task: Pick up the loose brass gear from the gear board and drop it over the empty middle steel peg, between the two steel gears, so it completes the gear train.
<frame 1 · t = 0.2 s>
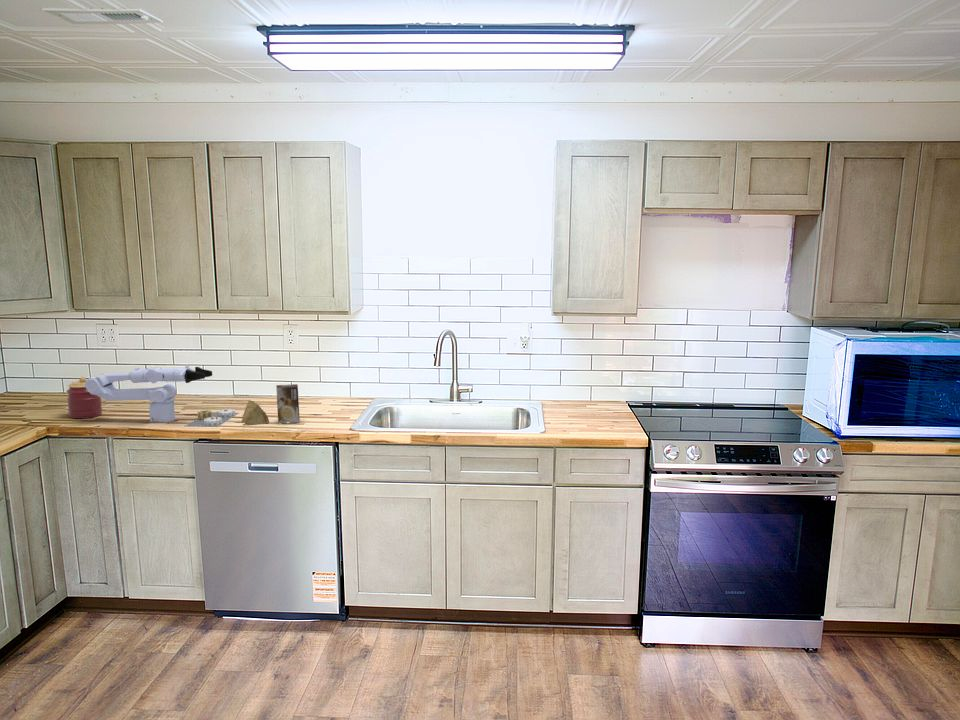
hand: (208, 374, 281), 21 cm above the worktop, tool horizontal, fingers open, 7 cm apart
coffee box: (288, 422, 288), on the worktop
canister: (85, 416, 293), on the worktop
gear board: (212, 421, 287), on the worktop
rock: (255, 424, 284), on the worktop
brass gear: (204, 418, 287), point 1 cm above the worktop, touching gear board
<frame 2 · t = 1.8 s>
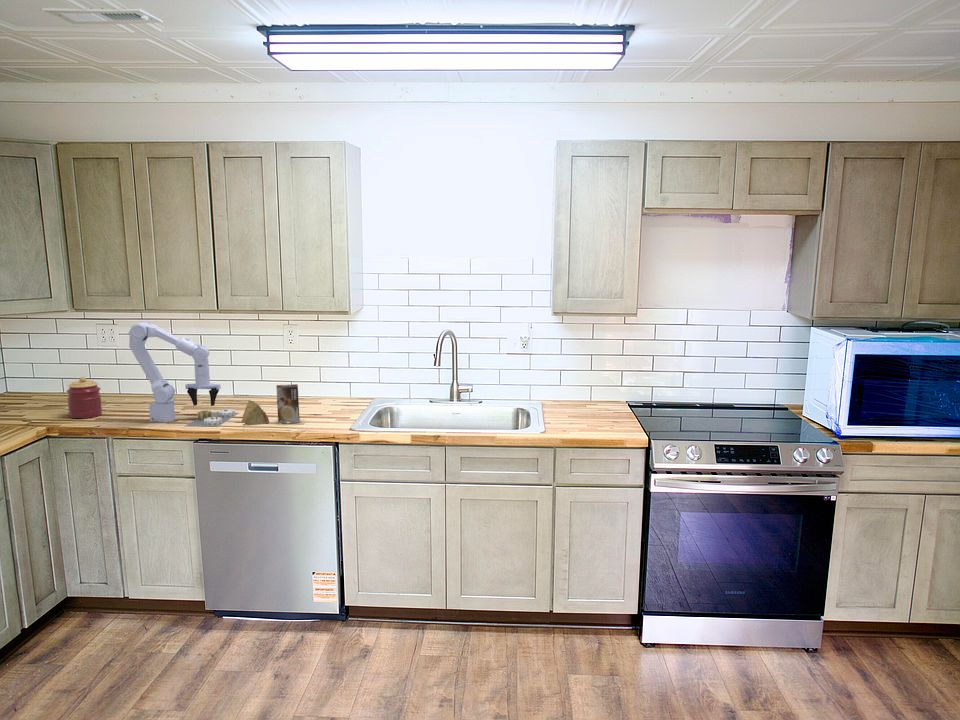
hand: (204, 405, 286), 7 cm above the worktop, tool pointing down, fingers open, 7 cm apart
nothing on the worktop moved.
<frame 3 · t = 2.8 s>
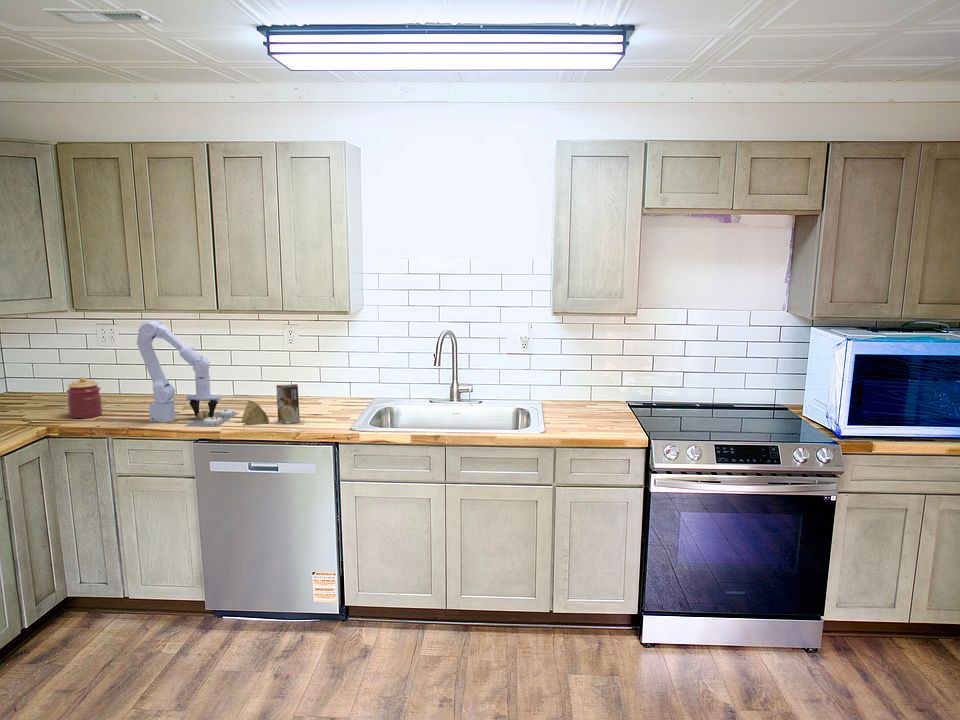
hand: (204, 416, 287), 2 cm above the worktop, tool pointing down, fingers closed on brass gear, 6 cm apart
brass gear: (204, 418, 287), point 1 cm above the worktop, touching gear board, gripper
everything else where it was.
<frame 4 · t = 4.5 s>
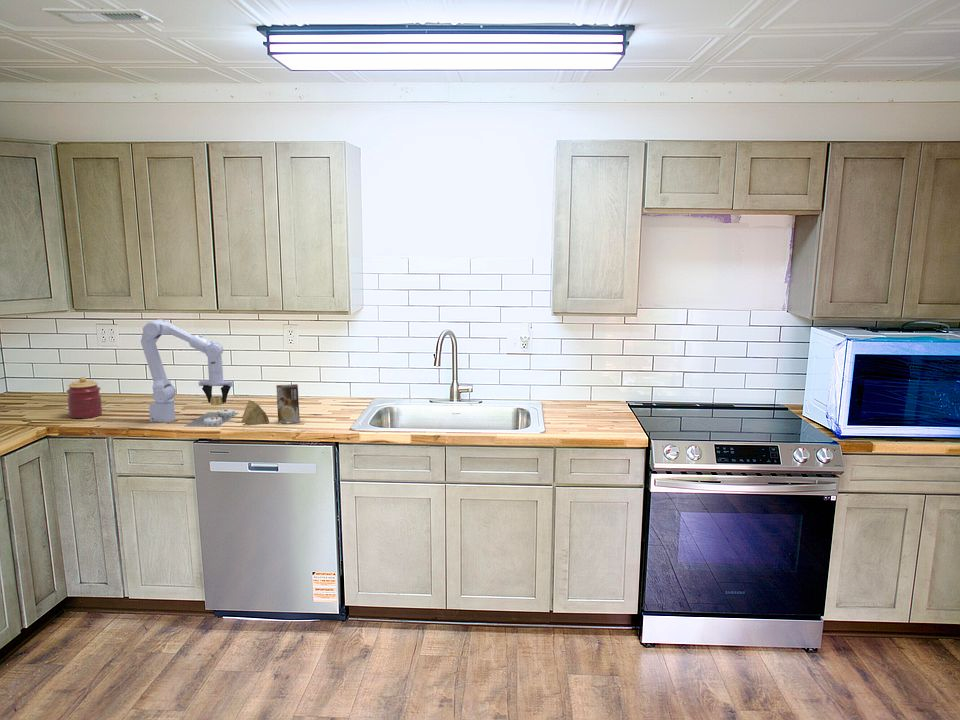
hand: (217, 402, 285), 9 cm above the worktop, tool pointing down, fingers closed on brass gear, 6 cm apart
brass gear: (217, 403, 285), point 8 cm above the worktop, touching gripper
everything else where it was.
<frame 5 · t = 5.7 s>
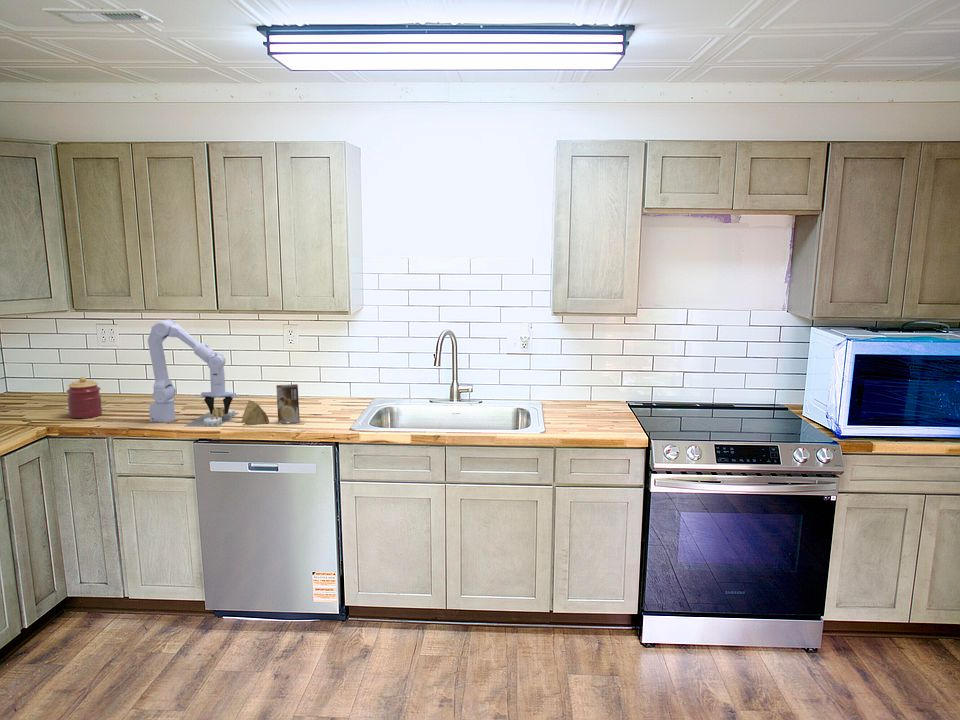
hand: (219, 413, 286), 4 cm above the worktop, tool pointing down, fingers closed on brass gear, 6 cm apart
brass gear: (219, 415, 286), point 3 cm above the worktop, touching gripper
everything else where it was.
when the fingers open (3 cm above the worktop, at t = 6.4 s): brass gear drops 2 cm, resting on gear board.
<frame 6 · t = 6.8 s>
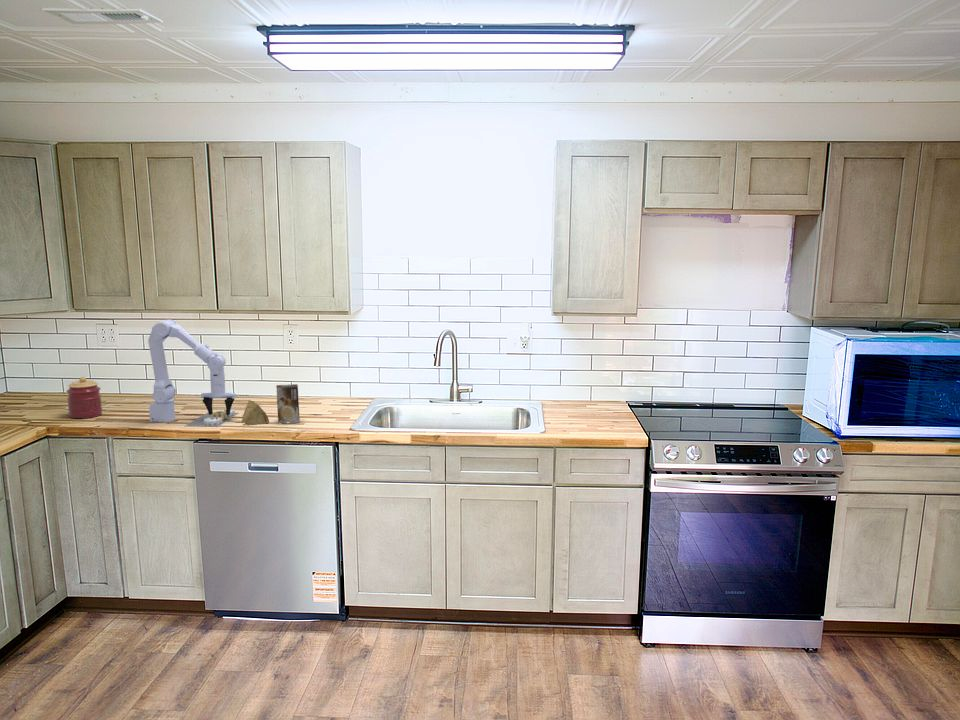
hand: (219, 414, 286), 3 cm above the worktop, tool pointing down, fingers open, 7 cm apart
brass gear: (219, 419, 286), point 1 cm above the worktop, touching gear board
everything else where it was.
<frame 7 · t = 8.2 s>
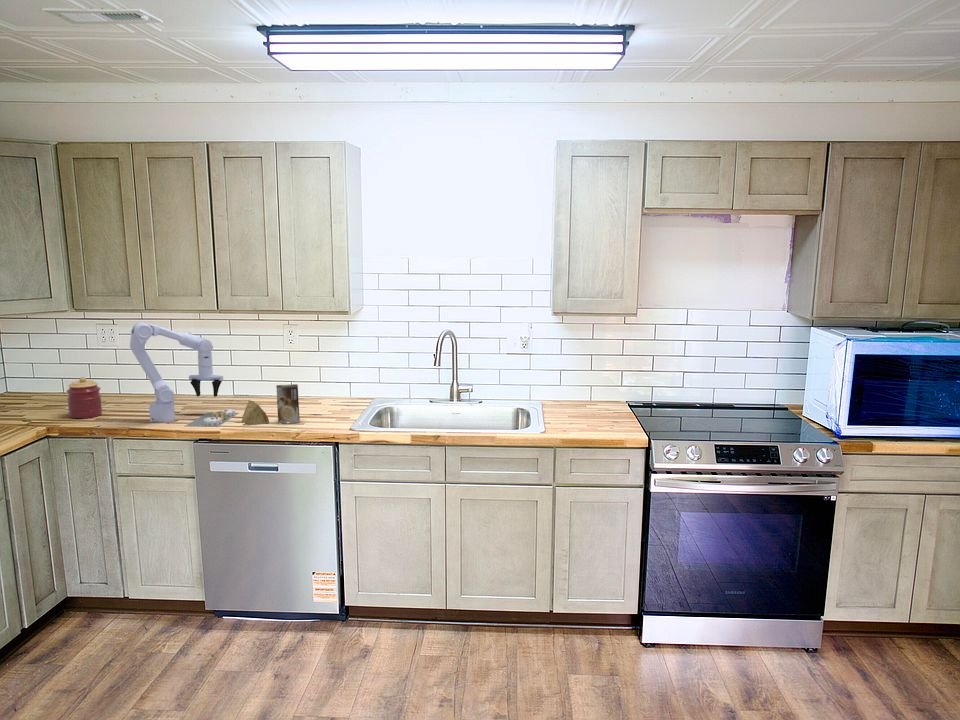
hand: (207, 396, 293), 9 cm above the worktop, tool pointing down, fingers open, 7 cm apart
nothing on the worktop moved.
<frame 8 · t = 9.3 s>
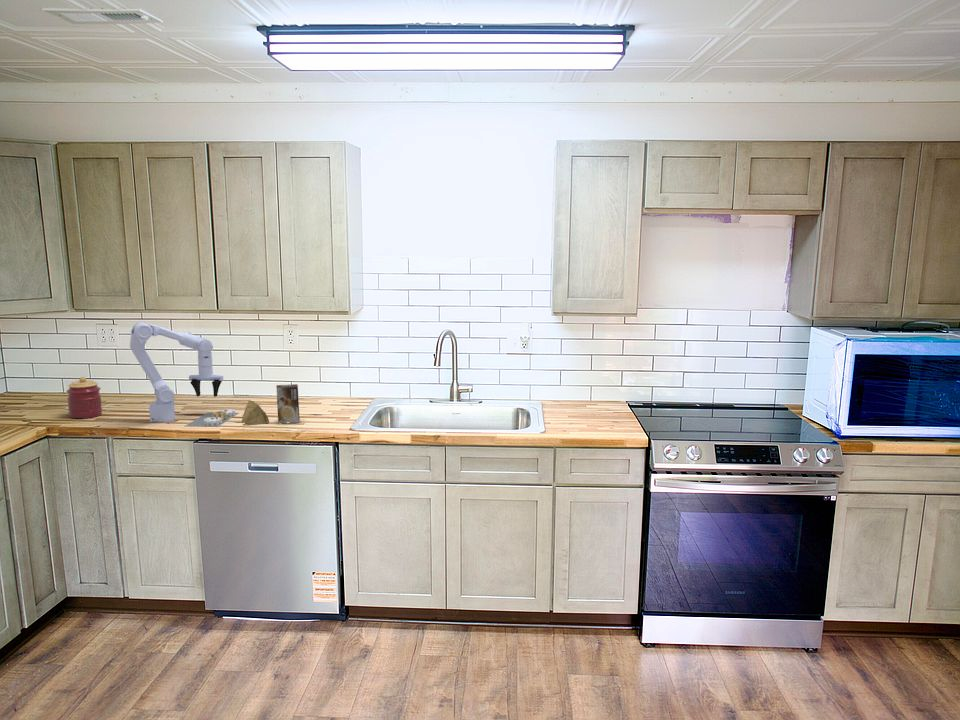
hand: (207, 396, 293), 9 cm above the worktop, tool pointing down, fingers open, 7 cm apart
nothing on the worktop moved.
at the end: brass gear 0.1 cm from the target spot on the gear board, point 1.0 cm above the gear board's base; brass gear tilted 0°; the gripper is holding nothing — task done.
